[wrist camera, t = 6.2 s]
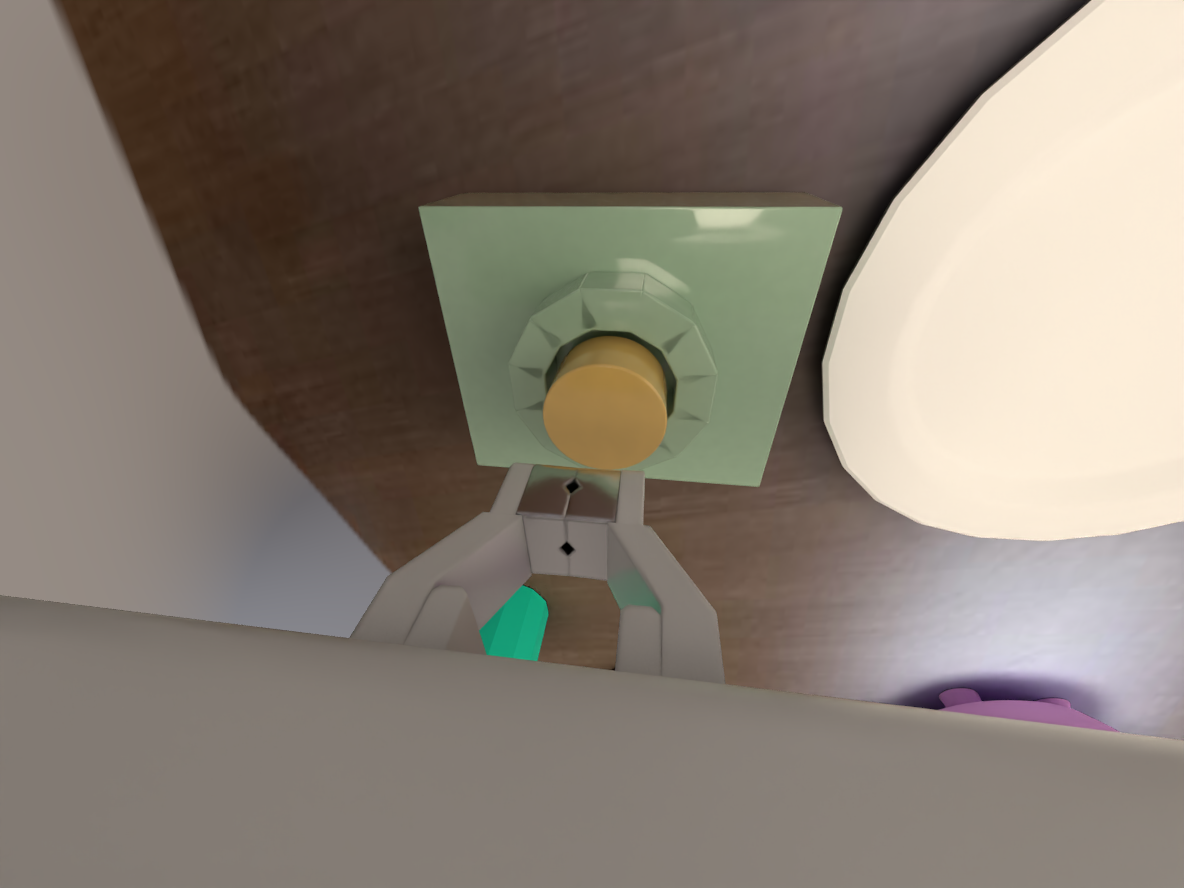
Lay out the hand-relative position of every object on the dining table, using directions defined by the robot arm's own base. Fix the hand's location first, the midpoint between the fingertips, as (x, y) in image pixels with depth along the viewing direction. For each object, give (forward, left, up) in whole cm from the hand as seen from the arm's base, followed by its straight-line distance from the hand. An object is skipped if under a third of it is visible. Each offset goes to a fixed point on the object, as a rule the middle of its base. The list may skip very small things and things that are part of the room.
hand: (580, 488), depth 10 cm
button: (0, 0, -5) cm, 5 cm away
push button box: (0, 0, -10) cm, 10 cm away
